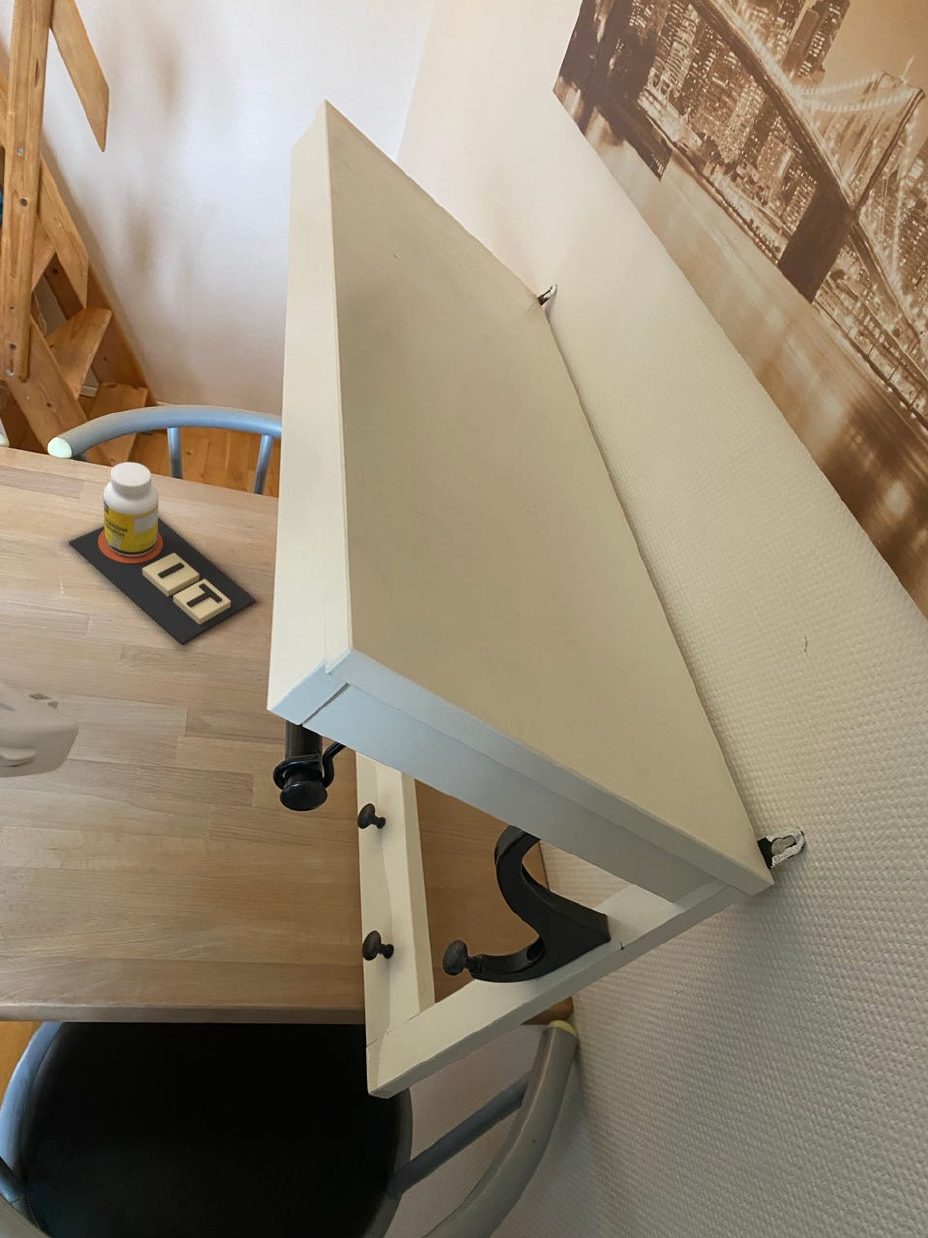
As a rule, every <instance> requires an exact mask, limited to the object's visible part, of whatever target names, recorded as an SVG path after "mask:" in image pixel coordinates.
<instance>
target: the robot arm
mask: <svg viewBox="0 0 928 1238" xmlns="http://www.w3.org/2000/svg"><path fill="white" fill-rule="evenodd" d="M58 705H59V702H58V701H57V700H55V699H53V698H51V697H49V696H47V695H44V694H42V693H41V692H39V693H30V694H25V693H24V692H21V691H19V690H17V689H15V688H14V687H11V686H9V685H7V684H5V683H3V682H1V681H0V779H1V778H3V779H4V778H5V779H7V778H8V779H9V778H19V777H28V776H35V775H41V774H47V773H51V772H55V771H57V770H59V769H60V768H61V767H62V766H63V764H64V763H65V762H66V760H67V758H68V757H69V754H70V752H71V750H72V748H73V747H74V744H75V742H76V740H77V736H78V734H79V724H78V722H77V720H76V719H75V718H74V717H73V716H71V715H69V714H67V713H65V712H63V711H61V710H59V709H57V707H58Z"/></svg>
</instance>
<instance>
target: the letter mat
mask: <svg viewBox="0 0 928 1238" xmlns="http://www.w3.org/2000/svg"><path fill="white" fill-rule="evenodd" d="M68 545H69V546H71V548H73V549H74V551H76V552H77V553H78V554H79V555H81V556H82V558H84V559H85V560H86V562H88V563H89V564H91V565H92V567H94V568H95V569H96V570H97V571H98V572H100V574H102V575H103V576H104V577H105V578H106V579H107V580H108V581H110V583H112V584H113V585H114V586H115V587H116V588H117V589H118V590H120V592H122V593H123V594H124V595H125V596H126V597H127V598H128V599H129V600H131V601H132V602H133V603H134V604H135V605H136V606H137V607H138V608H139V609H140V610H141V611H142V612H143V613H145V614H146V615H147V616H148V617H149V618H151V620H153V621H154V623H156V624H157V625H158V626H159V627H160V628H162V629H163V631H165V632H166V633H167V634H168V635H170V636H171V637H172V638H173V639H174V640H175V641H176V642H177V643H178V644H180V645H181V646H184V645H186V644H187V643H189V642H191V641H192V640H194V639H196V638H198V637H199V636H201V635H203V634H204V633H207V632H208V631H209V630H210V629H213V628H214V627H216V626H218V625H220V624H221V623H223V622H224V621H226V620H229V618H231V617H233V616H235V615H236V614H238V613H240V612H242V611H244V610H245V609H247V608H248V607H250V606H251V605H253V604H255V603H256V601H257V600H256V599H255V598H254V597H253V596H252V595H251V594H249V592H247V591H246V590H245V589H244V588H242V587H241V586H240V585H239V584H237V583H236V582H235V580H233V579H232V578H231V577H229V575H227V573H224V572H223V570H221V568H219V567H218V566H216V564H215V563H213V562H212V561H210V559H208V558H207V557H206V556H204V555H203V554H202V553H201V552H200V551H199V550H198V549H197V548H195V546H193V545H192V544H190V543H189V542H188V541H187V540H186V539H185V538H184V537H182V535H180V534H179V533H178V532H176V531H175V530H174V529H173V528H171V527H170V526H169V525H168V524H167V523H166V522H165V521H163V520H162V519H161V518H159V517H158V536H157V543H156V546H155V547H154V548H153V549H152V550H151V551H150V552H149V553H147V554H144V555H141V556H135V557H130V556H124V555H120V554H118V553H116V552H114V551H113V550H111V549H110V548H109V546H108V545H107V543H106V540H105V525H104V526H102V527H100V528H97V529H94V530H92V531H90V532H88V533H86V534H83V535H81V536H78V537H76V538H74V539H72V540H70V541H68Z"/></svg>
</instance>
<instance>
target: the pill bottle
mask: <svg viewBox="0 0 928 1238" xmlns="http://www.w3.org/2000/svg"><path fill="white" fill-rule="evenodd" d="M109 476H110V481H109V482H108V483H107V484H106V486H105V487H104V490H103V495H102V496H103V497H102V498H103V516H104V518H103V519H104V522H103V523H104V526H105V540H106V543H107V545H108V546H109V548H110V549H111V550H113V551H114V552H116V553H118V554H120V555H124V556H130V557H135V556H141V555H144V554H147V553H149V552H150V551H151V550H152V549H153V548H154V547H155V546H156V543H157V536H158V518H159V493H158V491H157V489H156V487H155V486H154V485H153V483H152V473H151V471H150V469H149V468H148V467H147V466H145V465H143V464H141V463H138V462H132V461H125V462H121V463H118V464H115V465H114V466H113V467H112V468H111V470H110V475H109Z"/></svg>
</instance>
